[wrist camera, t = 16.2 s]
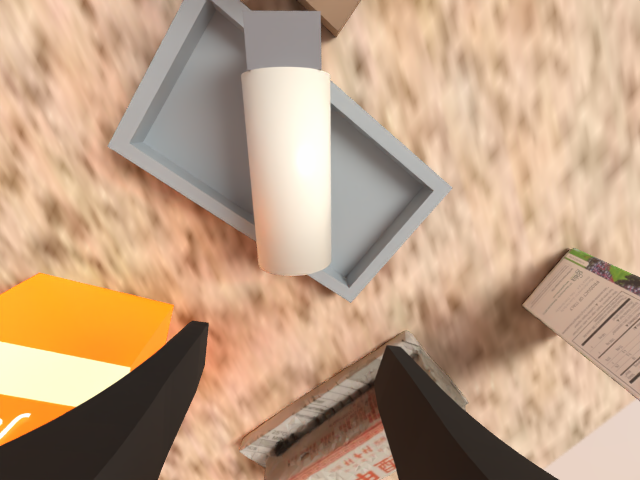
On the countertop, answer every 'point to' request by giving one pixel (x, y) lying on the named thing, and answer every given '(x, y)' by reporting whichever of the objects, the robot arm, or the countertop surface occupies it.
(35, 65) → the countertop surface
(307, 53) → the white cylinder grey cap
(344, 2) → the board
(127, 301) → the orange juice
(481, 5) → the countertop surface
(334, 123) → the tray
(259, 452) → the packaged product
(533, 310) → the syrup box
